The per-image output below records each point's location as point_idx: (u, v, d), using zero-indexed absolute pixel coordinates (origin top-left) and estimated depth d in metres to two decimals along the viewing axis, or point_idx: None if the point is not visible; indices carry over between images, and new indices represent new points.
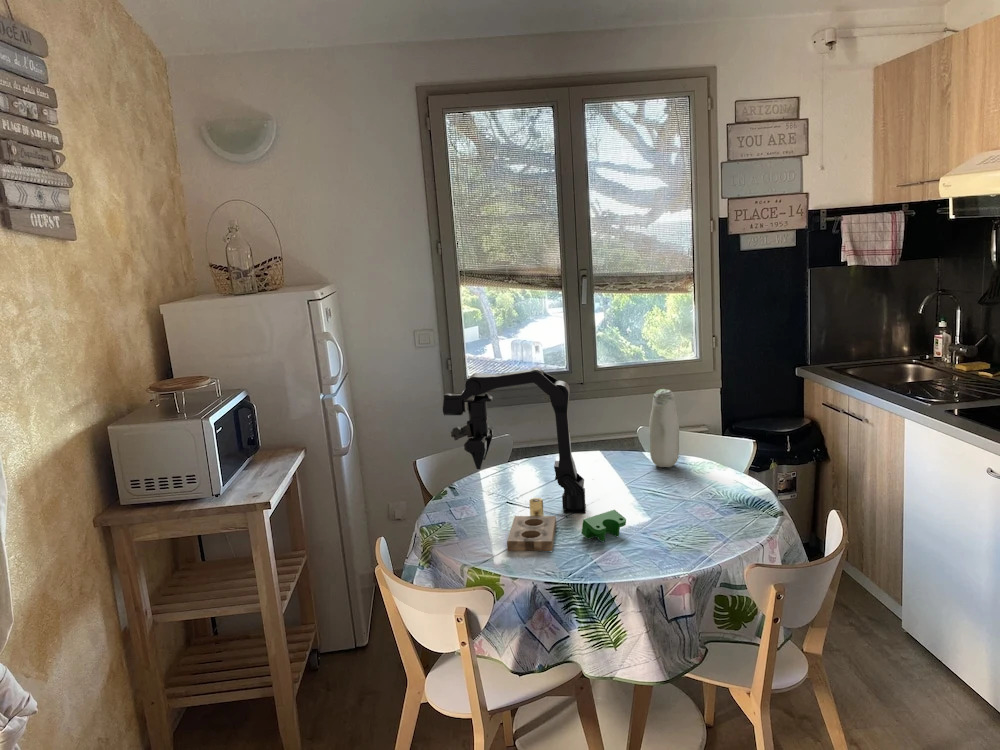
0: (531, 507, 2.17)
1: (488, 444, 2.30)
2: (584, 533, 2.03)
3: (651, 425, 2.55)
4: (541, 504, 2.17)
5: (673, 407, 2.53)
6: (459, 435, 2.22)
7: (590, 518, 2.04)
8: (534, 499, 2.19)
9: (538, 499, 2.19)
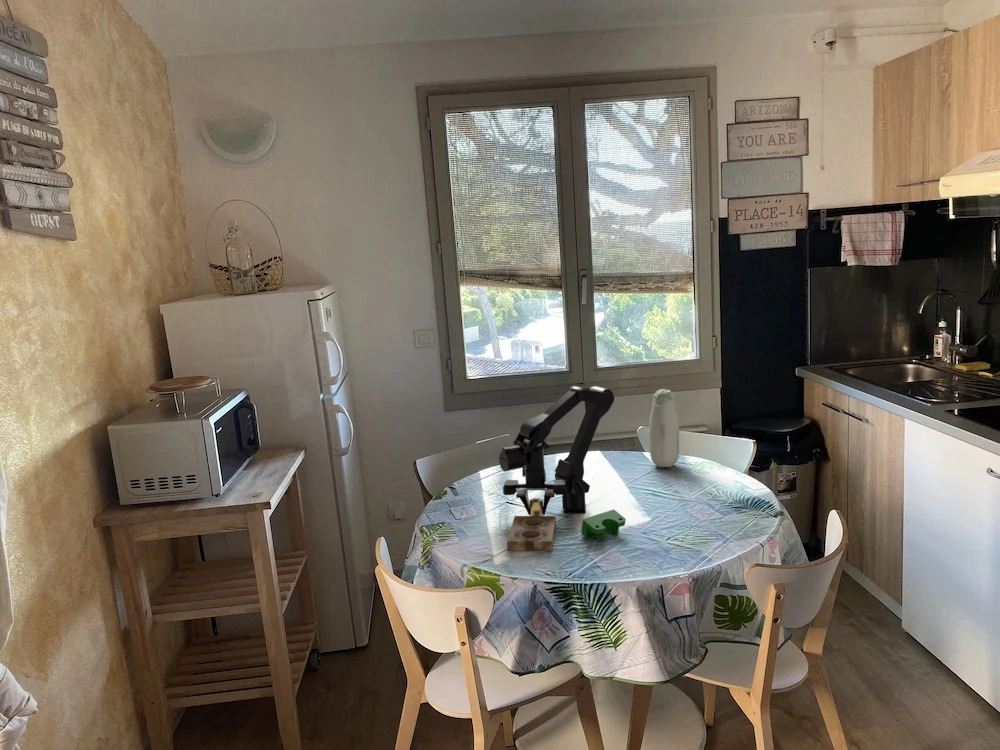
0: (531, 507, 2.17)
1: None
2: (584, 533, 2.04)
3: (651, 425, 2.55)
4: (541, 504, 2.17)
5: (673, 407, 2.53)
6: None
7: (589, 518, 2.04)
8: (534, 499, 2.19)
9: (538, 499, 2.19)
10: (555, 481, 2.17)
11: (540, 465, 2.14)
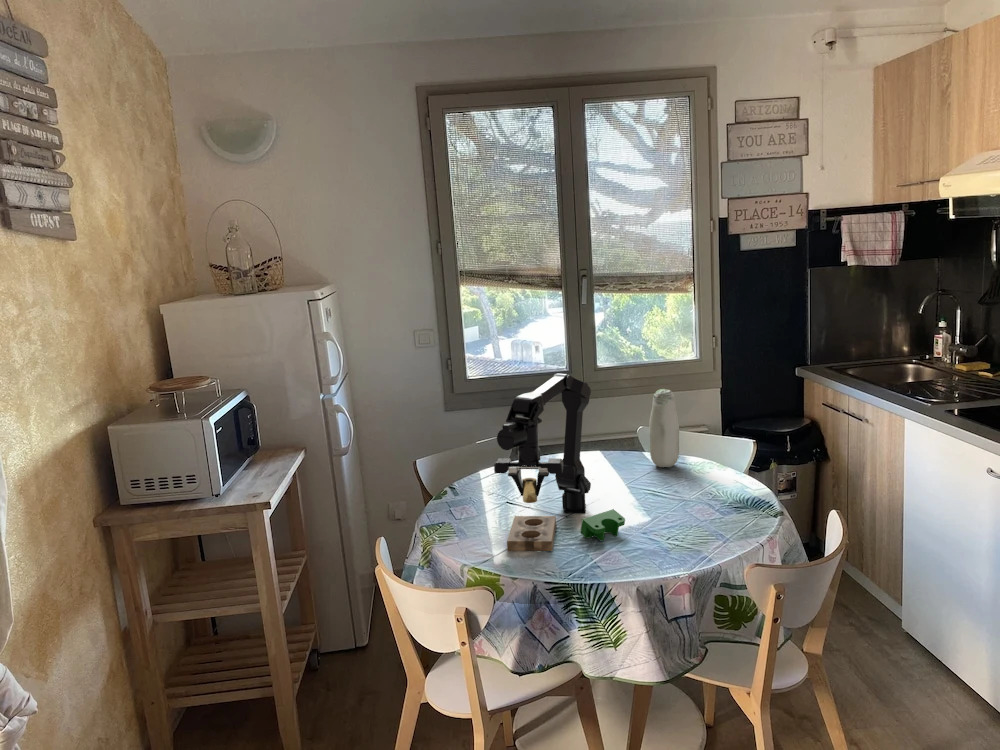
0: (524, 487, 2.04)
1: (537, 480, 2.03)
2: (583, 533, 2.04)
3: (651, 425, 2.55)
4: (534, 484, 2.04)
5: (673, 407, 2.53)
6: (516, 453, 2.10)
7: (589, 518, 2.04)
8: (527, 479, 2.06)
9: (531, 479, 2.05)
10: (550, 460, 2.04)
11: (537, 441, 2.02)
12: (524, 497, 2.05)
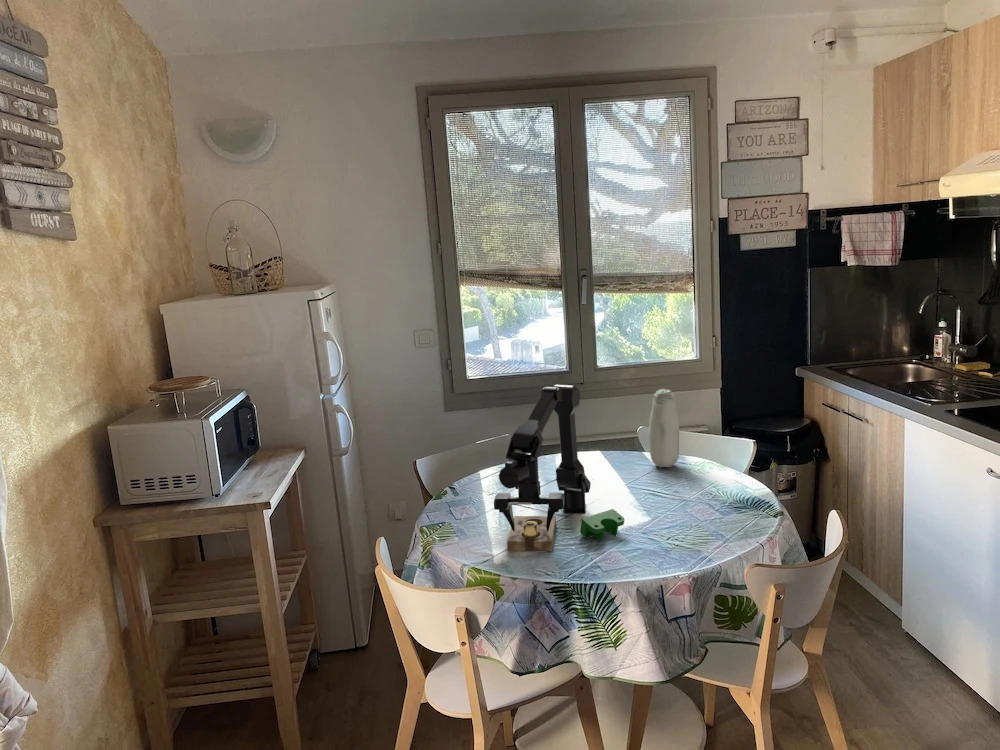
0: (525, 531, 2.00)
1: (547, 516, 1.98)
2: (583, 532, 2.04)
3: (651, 425, 2.55)
4: (536, 528, 2.00)
5: (673, 407, 2.53)
6: None
7: (588, 517, 2.04)
8: (528, 522, 2.02)
9: (532, 522, 2.02)
10: (550, 494, 1.99)
11: (537, 476, 1.97)
12: None
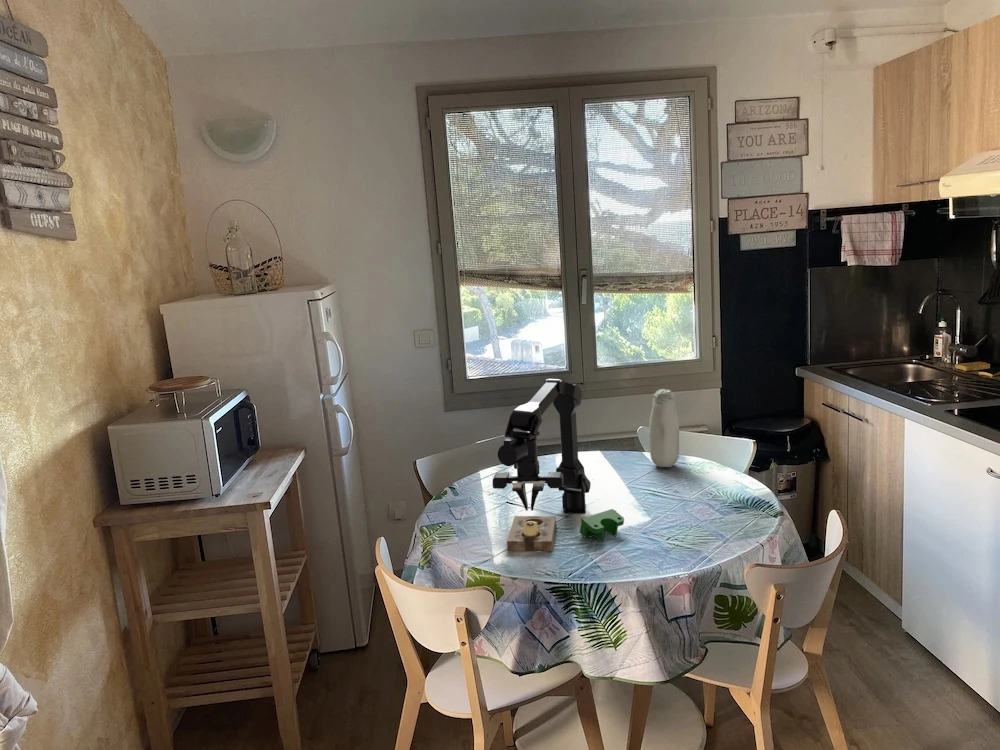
0: (525, 531, 2.00)
1: None
2: (582, 532, 2.04)
3: (651, 425, 2.55)
4: (536, 528, 2.00)
5: (673, 407, 2.53)
6: (514, 467, 2.04)
7: (588, 517, 2.04)
8: (528, 522, 2.02)
9: (532, 522, 2.02)
10: (549, 473, 1.98)
11: (536, 454, 1.96)
12: None
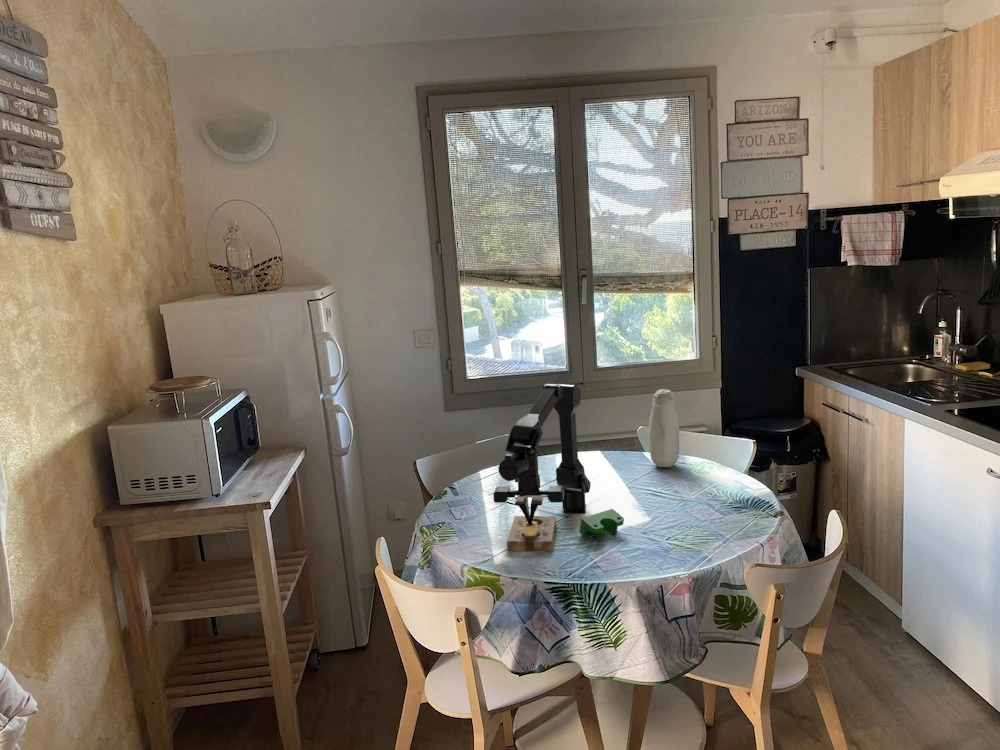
0: (525, 531, 2.00)
1: (530, 509, 1.98)
2: (582, 532, 2.04)
3: (651, 425, 2.55)
4: (536, 528, 2.00)
5: (673, 407, 2.53)
6: (515, 480, 2.05)
7: (588, 517, 2.04)
8: None
9: (532, 522, 2.02)
10: (550, 487, 1.99)
11: (537, 468, 1.97)
12: None
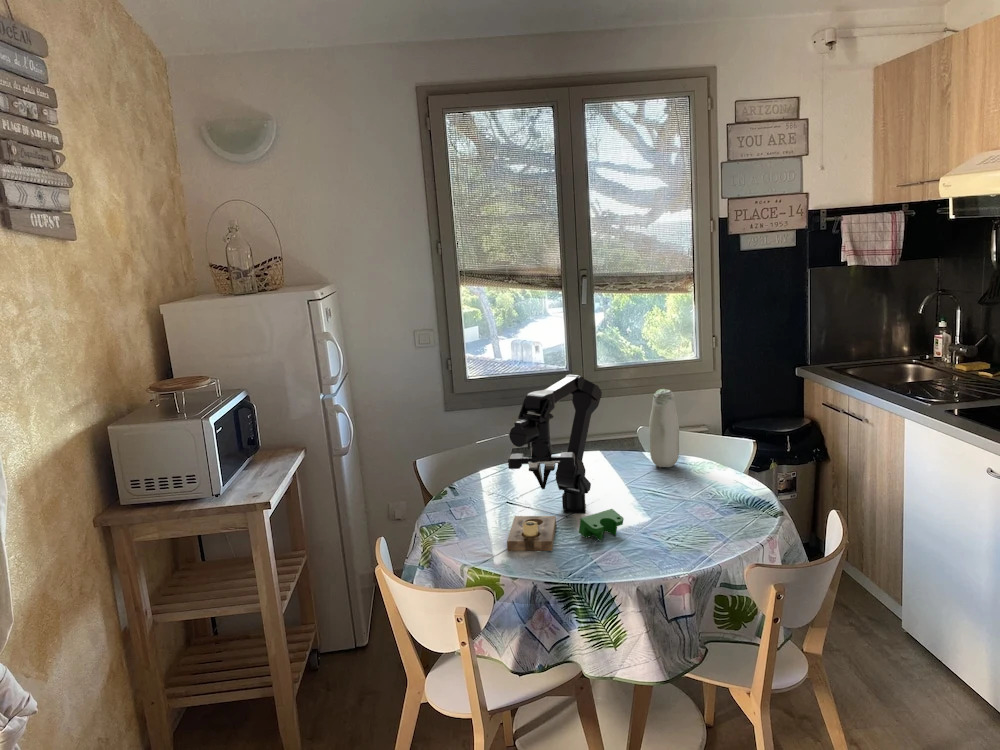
0: (525, 531, 2.00)
1: None
2: (582, 532, 2.04)
3: (651, 425, 2.55)
4: (536, 528, 2.00)
5: (673, 407, 2.53)
6: None
7: (587, 517, 2.04)
8: (528, 522, 2.02)
9: (532, 522, 2.02)
10: (562, 454, 2.09)
11: (548, 436, 2.07)
12: None
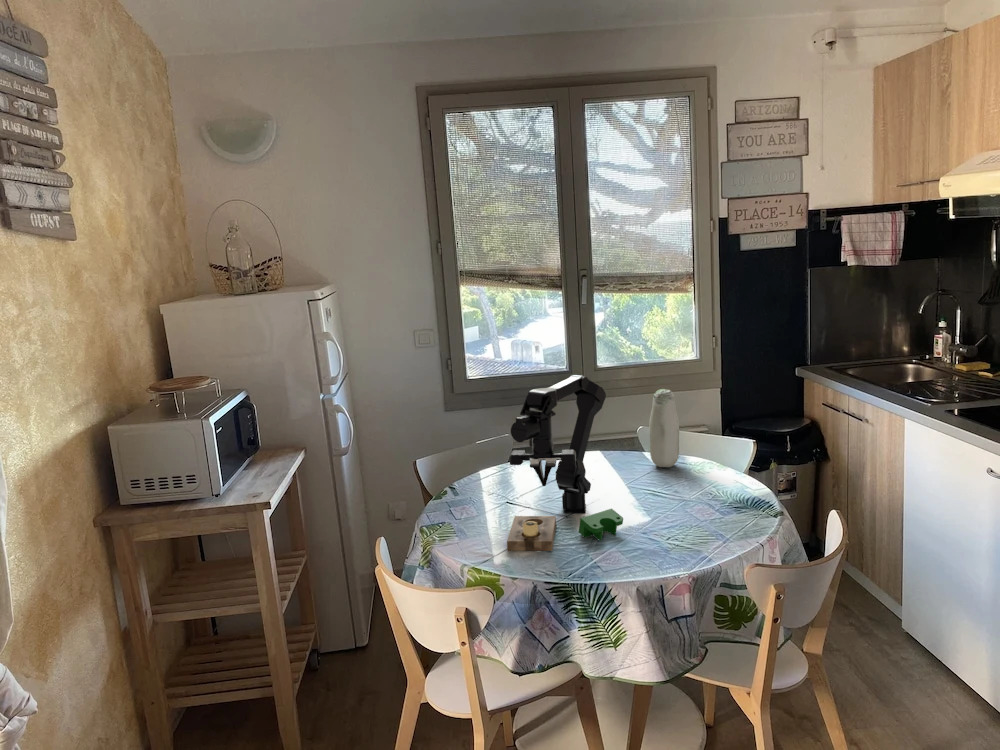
0: (525, 531, 2.00)
1: None
2: (581, 532, 2.04)
3: (651, 425, 2.55)
4: (536, 528, 2.00)
5: (673, 407, 2.53)
6: None
7: (587, 517, 2.04)
8: (528, 522, 2.02)
9: (532, 522, 2.02)
10: (563, 451, 2.11)
11: (550, 433, 2.08)
12: None
